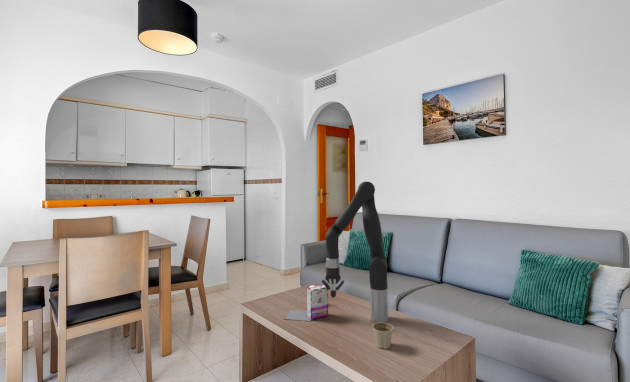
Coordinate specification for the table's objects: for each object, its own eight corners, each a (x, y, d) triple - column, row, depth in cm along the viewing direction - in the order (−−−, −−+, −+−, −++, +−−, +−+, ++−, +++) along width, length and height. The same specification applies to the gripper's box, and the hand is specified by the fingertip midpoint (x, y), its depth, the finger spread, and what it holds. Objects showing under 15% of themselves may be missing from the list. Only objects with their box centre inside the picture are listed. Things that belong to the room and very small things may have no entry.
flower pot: (378, 338, 150) (378, 320, 150) (397, 344, 144) (397, 325, 144) (369, 346, 142) (368, 327, 142) (388, 353, 136) (387, 333, 136)
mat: (315, 311, 183) (315, 311, 183) (310, 321, 170) (310, 320, 170) (290, 310, 186) (290, 309, 186) (283, 319, 173) (283, 318, 173)
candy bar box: (323, 312, 181) (324, 284, 181) (328, 316, 177) (328, 287, 176) (306, 316, 176) (306, 287, 175) (310, 320, 171) (311, 290, 171)
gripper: (345, 264, 176) (346, 295, 176) (322, 263, 179) (322, 294, 179) (343, 268, 169) (344, 300, 169) (319, 267, 171) (320, 298, 172)
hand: (333, 297), depth 174 cm, fingers closed
